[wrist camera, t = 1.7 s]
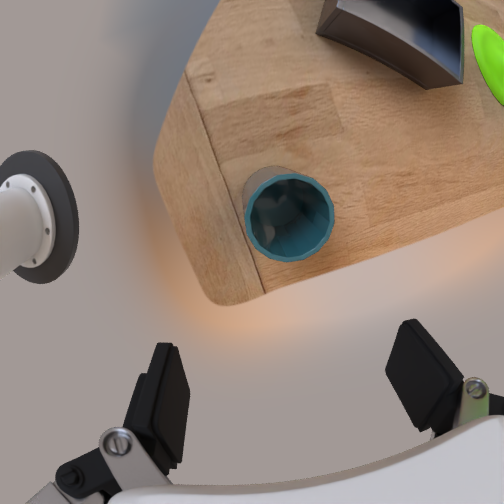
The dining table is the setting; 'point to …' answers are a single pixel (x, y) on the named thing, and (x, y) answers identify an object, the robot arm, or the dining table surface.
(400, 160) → the dining table surface
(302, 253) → the tumbler
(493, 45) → the wineglass
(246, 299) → the dining table surface
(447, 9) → the grey open box
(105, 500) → the robot arm
